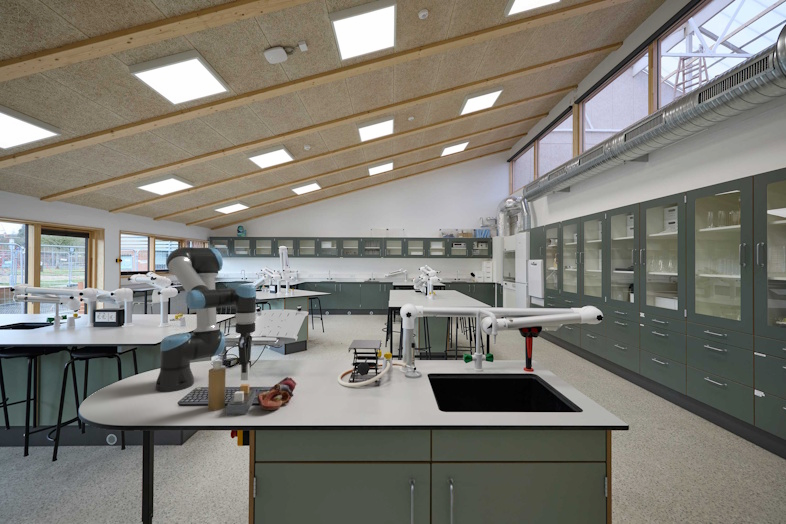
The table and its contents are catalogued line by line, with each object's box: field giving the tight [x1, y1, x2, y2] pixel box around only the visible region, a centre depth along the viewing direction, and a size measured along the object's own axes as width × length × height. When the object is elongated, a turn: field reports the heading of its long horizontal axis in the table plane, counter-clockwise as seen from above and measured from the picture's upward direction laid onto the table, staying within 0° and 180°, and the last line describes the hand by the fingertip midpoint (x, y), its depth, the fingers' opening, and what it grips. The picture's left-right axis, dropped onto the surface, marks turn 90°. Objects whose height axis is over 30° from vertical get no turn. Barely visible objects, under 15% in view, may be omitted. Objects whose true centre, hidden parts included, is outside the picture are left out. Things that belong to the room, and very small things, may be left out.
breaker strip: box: [225, 387, 257, 417], centre depth 143 cm, size 22×7×4 cm, turn 9°
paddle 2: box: [239, 383, 250, 394], centre depth 144 cm, size 2×3×3 cm, turn 99°
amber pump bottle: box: [207, 360, 227, 412], centre depth 138 cm, size 6×6×18 cm
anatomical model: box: [257, 376, 297, 411], centre depth 141 cm, size 11×13×15 cm
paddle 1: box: [233, 390, 244, 402], centre depth 136 cm, size 2×3×3 cm, turn 99°
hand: (244, 379), depth 143 cm, fingers closed
